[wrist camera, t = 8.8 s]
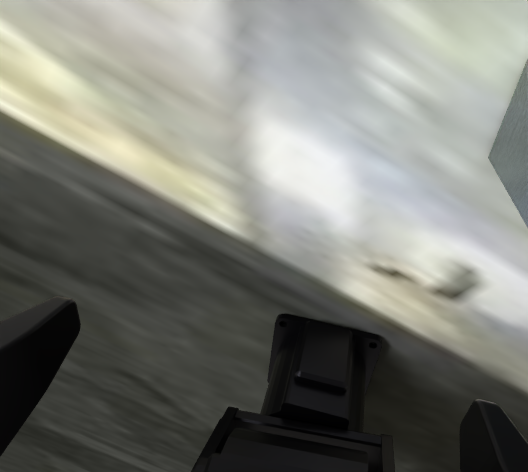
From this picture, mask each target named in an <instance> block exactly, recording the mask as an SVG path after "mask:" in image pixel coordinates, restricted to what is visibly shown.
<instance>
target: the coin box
mask: <svg viewBox="0 0 528 472" xmlns="http://www.w3.org/2000/svg"><path fill="white" fill-rule="evenodd" d="M488 158H489V160H490V162H491V164H492V165H493V167H494V169H495V171H496V172H497V174H498V176H499V178H500V180H501V181H502V183H503V185H504V187H505V188H506V190H507V192H508V194H509V196H510V197H511V199H512V201H513V203H514V204H515V206H516V208H517V210H518V211H519V213H520V215H521V217H522V219H523V220H524V222H525V224H526V226H527V227H528V59H527V62H526V64H525V67H524V69H523V72H522V74H521V77H520V79H519V82H518V84H517V87H516V89H515V92H514V94H513V97H512V99H511V102H510V104H509V107H508V109H507V112H506V114H505V117H504V119H503V122H502V124H501V127H500V129H499V132H498V134H497V137H496V139H495V142H494V144H493V147H492V149H491V152H490V154H489V157H488Z"/></svg>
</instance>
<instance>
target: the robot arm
mask: <svg viewBox="0 0 528 472" xmlns="http://www.w3.org/2000/svg"><path fill="white" fill-rule="evenodd" d="M282 321H284V322H286V323H283V322H282ZM80 325H81V324H80V319H79V314H78V310H77V305H76V302H75V301H74V300H73V299H70V298H66V297H62V296H56V297H53V298H51V299H49V300H47V301H44V302H42V303H40V304H38V305H36V306H33V307H31V308H29V309H27V310H25V311H22V312H20V313H18V314H16V315H14V316H11V317H9V318H7V319H5V320H3V321H0V456H1V455H2V454H3V452H4V451H5V449H6V448H7V446H8V445H9V444H10V442H11V441H12V439H13V438H14V436H15V435H16V434H17V432H18V431H19V429H20V428H21V426H22V425H23V424H24V422H25V421H26V419H27V418H28V417H29V415H30V414H31V412H32V411H33V409H34V408H35V407H36V405H37V404H38V402H39V401H40V399H41V398H42V396H43V395H44V393H45V392H46V390H47V389H48V387H49V385H50V384H51V382H52V380H53V379H54V377H55V375H56V373H57V371H58V370H59V368H60V366H61V364H62V363H63V361H64V359H65V357H66V355H67V354H68V352H69V350H70V348H71V347H72V345H73V343H74V341H75V339H76V338H77V336H78V334H79V331H80ZM371 342H374V343H375V344H372V343H371ZM381 346H382V340H381V338H380V337H379V336H377V335H374V334H369V333H365V332H361V331H356V330H352V329H348V328H344V327H339V326H335V325H331V324H326V323H322V322H318V321H313V320H309V319H305V318H300V317H296V316H292V315H288V314H280V315H278V316H277V319H276V322H275V329H274V336H273V343H272V351H271V358H270V365H269V373H268V383H269V385H268V389H267V392H266V396H265V399H264V403H263V406H262V410H261V413H260V414H258V413H252V412H247V411H241V410H239V409H238V408H234V407H228V408H227V410H226V412H225V414H224V415H223V417H222V418H221V419H220V420H219V422H218V424H217V426H216V427H215V429H214V431H213V433H212V435H211V436H210V438H209V440H208V442H207V444H206V445H205V447H204V449H203V451H202V453H201V454H200V456H199V458H198V460H197V462H196V463H195V465H194V467H193V469H192V471H191V472H395V464H394V452H393V439H392V436H389V435H383V434H381V436H379V435H373V434H368V433H363V419H364V398H365V394H366V391H367V388H368V385H369V382H370V379H371V376H372V373H373V371H374V368H375V365H376V362H377V359H378V356H379V353H380V350H381ZM460 469H461V472H528V442H527V441H526V440H525V438H524V437H523V436H522V434H521V433H520V432H519V431H518V429H517V428H516V427H515V425H514V424H513V423H512V421H511V420H510V419H509V417H508V416H507V415H506V413H505V412H504V411H503V409H502V408H501V407H500V406H499V405H498V404H496V403H493V402H489V401H485V400H481V399H477V400H475V401H474V402H473V403H472V405H471V407H470V408H469V410H468V412H467V414H466V415H465V417H464V419H463V420H462V423H461V426H460Z"/></svg>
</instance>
